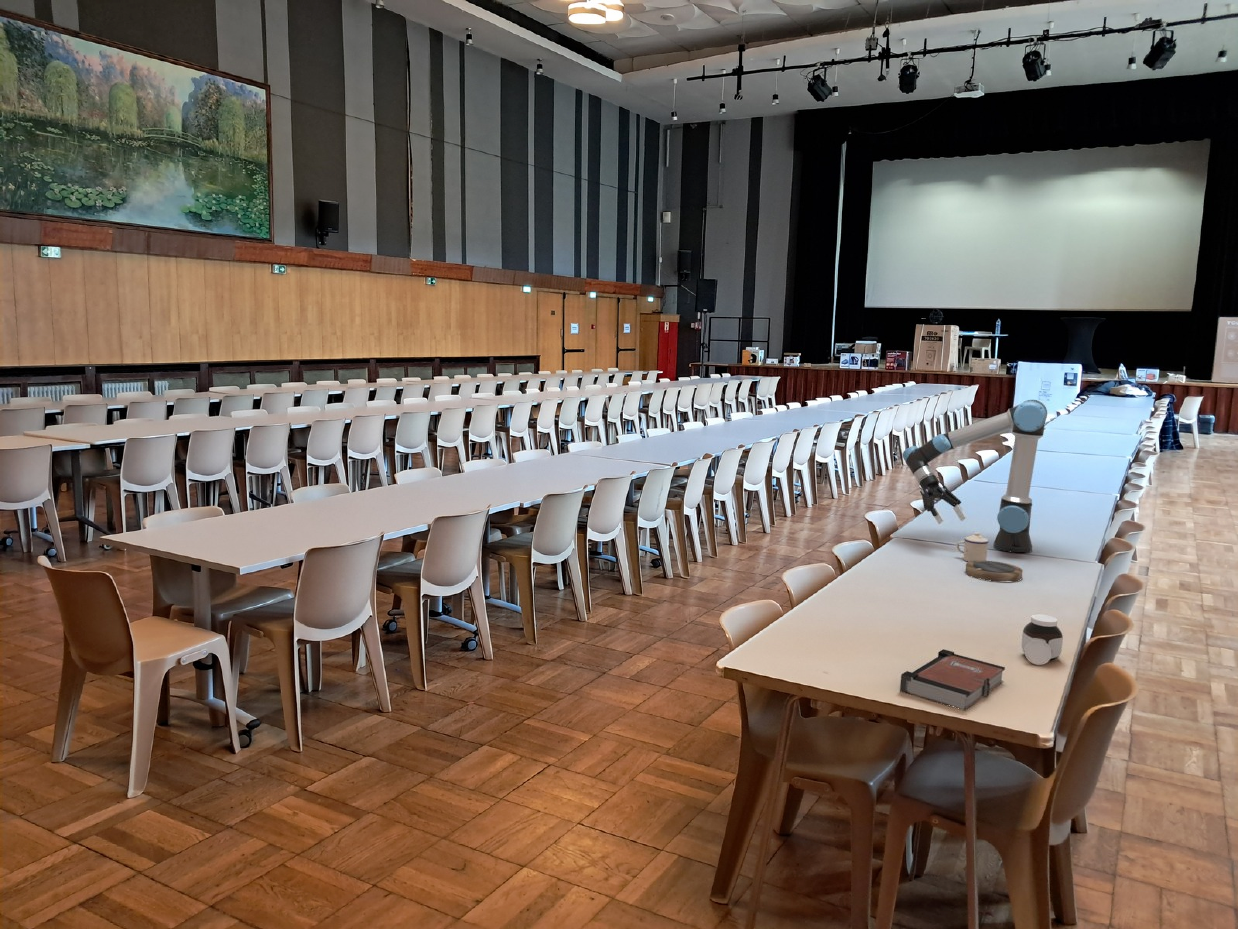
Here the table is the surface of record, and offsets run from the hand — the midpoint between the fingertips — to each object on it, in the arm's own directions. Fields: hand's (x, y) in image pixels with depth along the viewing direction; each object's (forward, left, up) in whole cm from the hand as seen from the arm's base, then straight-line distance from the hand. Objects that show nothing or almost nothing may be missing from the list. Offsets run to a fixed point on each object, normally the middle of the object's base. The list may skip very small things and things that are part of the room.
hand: (952, 520), depth 373 cm
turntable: (+11, +29, -14) cm, 34 cm away
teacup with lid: (0, +10, -14) cm, 18 cm away
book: (+115, +97, -15) cm, 151 cm away
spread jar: (+76, +95, -15) cm, 122 cm away
